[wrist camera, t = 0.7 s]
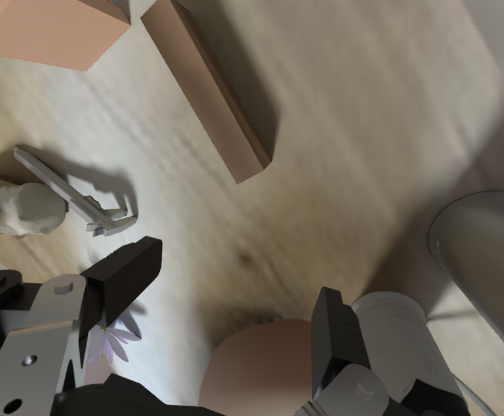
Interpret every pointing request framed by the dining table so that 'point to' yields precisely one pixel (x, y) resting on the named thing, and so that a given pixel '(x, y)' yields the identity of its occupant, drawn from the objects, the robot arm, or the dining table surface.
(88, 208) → the caliper
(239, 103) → the walnut bar
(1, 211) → the ceramic sculpture
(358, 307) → the glass holder
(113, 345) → the water lily
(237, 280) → the dining table surface
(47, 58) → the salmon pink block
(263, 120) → the dining table surface
